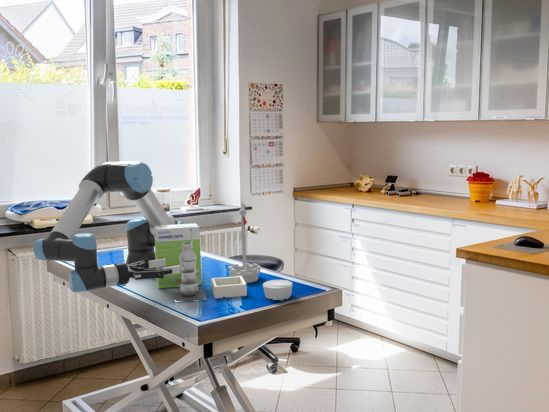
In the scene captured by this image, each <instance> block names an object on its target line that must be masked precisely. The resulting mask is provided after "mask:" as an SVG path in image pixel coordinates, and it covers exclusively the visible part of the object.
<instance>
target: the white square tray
mask: <svg viewBox="0 0 549 412" xmlns="http://www.w3.org/2000/svg"><path fill="white" fill-rule="evenodd" d="M210 279H211V280H210V281H211V283H210V284H211V291H212V294H213V297H214V299H224V298H223V297H226V298H235V297H246V296H248V295H247V294H248V293H247V290H248V289H247V287H248V286H247V283H245V281H244V279H243V278H242V276H235V277H232V276H226V277H213V278H210Z"/></svg>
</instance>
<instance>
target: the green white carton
mask: <svg viewBox="0 0 549 412" xmlns="http://www.w3.org/2000/svg"><path fill="white" fill-rule="evenodd" d="M200 229H201V228H200V226H199V225H198V224H197V223H194V222H193V223H184V224H177V225H160V226H154V236H155V247H154V250H155V257H156V260H158V259H164V258H165V259H166V266H161V267H156V269H162V268H166V267H172V266H178V265H179V266H180V262H179V256H180V254H181V252H182V251H183V249H182V243H192V247H193V248H192V250H193V251H194V253H195V254H196V256H197V259H196V281H197V285H198V286H201V285H202V282H203V280H202V279H203V278H202V261H201V260H202V257H201V255H202V254H201V232H200ZM155 279H156V284H157V288H158V289H169V288H180V285H181V267H180V273H178V274H172V275H166V276H164V278H163V279H161V278H155Z"/></svg>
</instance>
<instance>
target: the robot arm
mask: <svg viewBox="0 0 549 412" xmlns="http://www.w3.org/2000/svg"><path fill="white" fill-rule="evenodd" d="M152 174H153V173H152V170H151V168H150V167H149V165H148V164H146V163H145V162H142V161H107V162H103V163H101V164H98V165H96V166H95V167H93V168H92V169H91V170H90V171H88V172H87V174H85V176H84V177H83V178H82V180H80V182H79V184H78V190H77V192H76V194H75V195H74V197H73V198H72V199H71V201H70V202H69V204H68V206H66V208H65V210H64V212H63V213H62V215H61V217H60V218H59V219H58V220H57V222H56V223H55V225H54V227H53V228H52V229H51V231H50V233H49V234H48V235H47V237H46V238H45V237H43V238H39V239H37V240H36V241H35V242H34V245H33V255H34V256H35V258H36V259H37V260H40V261H48V262H50V261H51V262H52V261H54V262H58V261H59V262H73V263H74V269H72V270H70V271H69V272H68V277H67V279H68V286H69V289H70V290H71V292H73V293H82V292H88V291H93V290H99V289H103V288H104V289H105V288H106V289H110V287H116V286H123V285H127V284H129V282H130V279H134V280H136V281H138V280H139V281H140V280H149V279H151V280H152V279H156V278H161V279H163V278H164V276H166V275H172V274H178V273H180V266H179V265H178V266H172V267H166V268H162V269H156V267H161V266H166V259H165V258H164V259H158V260H156V257H155V236H154V226H160V225H177V224H185V223H184V221H182V220H176V219H175V218H174V216H173V215H172V214H169V213H167V211H166V210H165V209H164V207H163V206H162V204H161V202H160V201H159V199H158V197H157V196H156V195H155V193H154V191H153V190H152V186H153V183H154V182H153V180H154V179H153V178H154V177H153V175H152ZM106 193H122V194H123V196H124V197H125V199H127V200H129V201H132V202H133V203H134V205H135V206H136V208H137V209H138V210H139V212H140V213H141V215H142V216H143V217H138V218H133V219H131V220H128V221H127V223H126V239H127V241H126V242H127V253H128V254H127V257H126V261H125V262H120V263H115V264H107V265H102V266H99V265H98V249H97V247H98V246H97V239H96V236H95V234H94V233H91V232H85V233H83V232H82V233H77V232H78V231H79V229H80V228H81V226H82V224H83V223H84V221H85V220H86V218H87V217H88V216H89V213H90V211H91V210H92V209H93V207H94V205H95V204H96V202H97V200H100V199H101V198H103V196H104V195H105V194H106Z"/></svg>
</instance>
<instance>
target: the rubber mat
mask: <svg viewBox="0 0 549 412" xmlns="http://www.w3.org/2000/svg"><path fill="white" fill-rule="evenodd" d="M172 295H174V296H173V301H174V300H176V301H191V302H195V301H194V300H202V301H204V300H203V299H207V300H208V297H207V294H206V291H205V289H198V292H197V294H195V295H192V296H184V295H182V294H181V291H175V292H173V293H172Z"/></svg>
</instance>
